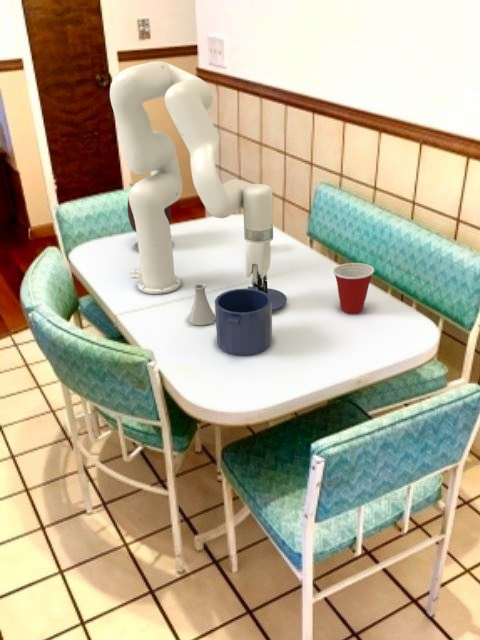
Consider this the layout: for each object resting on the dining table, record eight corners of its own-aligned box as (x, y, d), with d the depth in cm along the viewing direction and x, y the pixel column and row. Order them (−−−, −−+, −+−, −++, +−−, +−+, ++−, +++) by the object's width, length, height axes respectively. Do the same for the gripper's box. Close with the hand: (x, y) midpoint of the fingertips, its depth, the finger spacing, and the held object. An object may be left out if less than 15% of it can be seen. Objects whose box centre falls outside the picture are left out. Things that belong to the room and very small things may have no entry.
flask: (188, 314, 172) (185, 280, 167) (215, 312, 173) (213, 279, 168) (188, 327, 166) (185, 292, 161) (216, 325, 167) (213, 291, 161)
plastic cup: (348, 296, 180) (350, 257, 174) (379, 308, 173) (382, 268, 167) (322, 309, 174) (324, 268, 167) (354, 322, 167) (356, 280, 161)
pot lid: (228, 312, 172) (227, 293, 169) (241, 289, 184) (241, 271, 181) (281, 317, 169) (280, 298, 166) (291, 293, 181) (291, 275, 178)
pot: (207, 358, 153) (204, 316, 147) (228, 321, 168) (226, 281, 162) (262, 364, 150) (261, 321, 144) (279, 326, 166) (278, 286, 160)
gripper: (252, 221, 174) (254, 283, 183) (236, 243, 160) (239, 308, 170) (279, 223, 172) (279, 285, 182) (265, 245, 159) (267, 311, 168)
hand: (260, 296), depth 175 cm, fingers closed on pot lid, 2 cm apart
